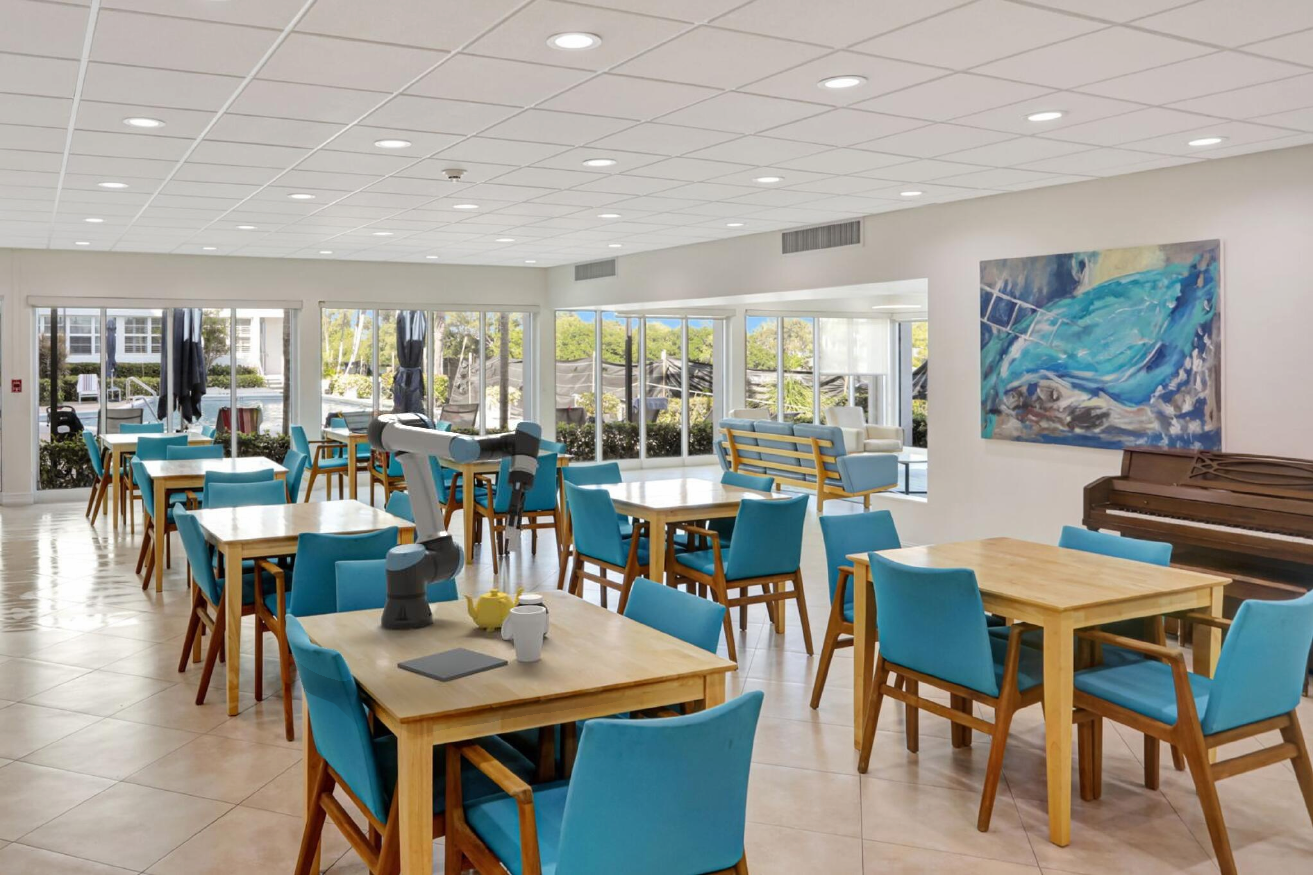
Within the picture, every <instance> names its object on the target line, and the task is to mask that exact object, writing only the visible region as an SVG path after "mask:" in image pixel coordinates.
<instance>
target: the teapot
mask: <svg viewBox="0 0 1313 875" xmlns="http://www.w3.org/2000/svg"><path fill="white" fill-rule="evenodd" d="M525 588H526V586H523V587H520V588H518V589H517V591H516V593H515V599H514V601H513V600H512V598H511V597H510V596H509V595H508V593H506V592H499V591H500V590H499V589H498V588H492V589H490V590H489V592H488V593H487V592H486V593H483V594H482V595H480V597H479V598H478V600H477V601H476V603H475V605H474V602H473V599H472V598H473V597H471V596H470V595H466V594H462V596H463V597H465V599H466V601H467V613H468V615H469V617H471V618H472V620H473V622H474V623H475V624H476V625H477V626H478V629H486V631H485V632H486V633H493V632H494V631H495V628H502V624H503V621H504V620H505V618H506V617H507V616H510V609H512V608H515V607H516V606H517V605H518V604H519V602H518V597H519V596H522V592H523V591H524V590H525Z"/></svg>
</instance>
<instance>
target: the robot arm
mask: <svg viewBox="0 0 1313 875" xmlns="http://www.w3.org/2000/svg"><path fill="white" fill-rule="evenodd" d="M542 432H543V429H542V426H541V425H540V424H539V423H537V422H536V421H531V420H523V421H522V420H521V421H519V422H518V423H517V424H516V427H515V430H514V431H509V432H504V433H503V432H502V433H492V434H490V433H489V434H482V435H480V434H479V435H470V434H469V435H468V434H464V433H463V434H462V433H456V432H450V431H443V430H436V429H435V426H434V424H433V422H432V421H431V419H429V417H427V416H426V415H424V414H422V413H419V412H406V413H405V412H404V413H385V414H381V415H378V416H376V417H374V418H373V419H372V420H371V421H370V422H369V424H368V426H367V428H366V439H367V443H369V445H370V446H371V447H372V448H373V449H375V450H377V451H378V452H387V453H393V456H394V460H395V461H396V462H399V463H400V464H401V469H402V474H403V477H404V481H405V486H406V490H407V494H408V500H409V504H410V507H411V512H412V516H413V520H414V525H415V529H416V534H417V539H416V541H414V543H407V544H401V545H397V546H393V547H392V548H391V549H389V550H388V551H387V552H386V555H385V563H384V566H385V585H386V586H385V589H386V590H385V591H386V601H385V604H384V606H383V611H382V615H381V619H380V622H381V623H380V626H381V625H382V626H383V628H384V627H385V629H388V628H392V629H391V630H411V629H410V628H414V629H421V628H424V626H425V627H427V626H431V625H432V624H433V623H432V622H433V621H434V620H433V612H432V610H431V608H430V604H429V602H428V599H427V586H428V585H432V584H436V583H441V582H446V581H450V580H451V579H455V578H456V577H457V576H459V575H460V573H461V572H462V570H463V568H464V565H465V559H466V558H465V552H464V549H463V547H462V546H461V545H460V544H459V543H458V542H456V541H454V539H453V535H452V533H450V532H449V531H447V530H446V528H445V523H444V519H443V514H442V511H441V505H440V502H439V497H438V493H437V488H436V485H435V480H434V476H433V472H432V468H431V464H430V459H429V456H431V457H432V456H433V457H439V458H445V459H450V460H454V461H455V462H456V463H458V464H471V463H475V462H485V461H487V462H488V461H500V460H505V459H510V464H509V469H508V471H509V472H508V476H507V483H506V484H507V486H508V487H509V488H512V490H511V492H510V499H509V504H508V507H507V509H506V510H505V515H507V518H506V524H505V525H506V526H505V532H504V537H503V538H504V539H508V543H507V552H512V553H517V552H518V548H519V547H518V546H519V542H520V534H521V532H523V531H524V528H523V527H522V523H523V515H524V514H523V513H524V508H525V503H526V499H527V495H526V494H527V493H526V492H525V491H531V490H532V489H533V488H534V486H535V478H536V477H535V475H536V473H537V472H536V471H537V468H539V466H540V465H539V464H538V458H539V454H540V453H539V452H540V447H541V442H542ZM382 626H381V627H382Z"/></svg>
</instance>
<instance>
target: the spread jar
mask: <svg viewBox="0 0 1313 875" xmlns="http://www.w3.org/2000/svg"><path fill="white" fill-rule="evenodd" d="M518 602H519V604H518V605H517V606H516V607H520V606H541V607H544V608H546V619H545V624H544V633H543V638H544V637H545V636H546V635H547V634H548V632H549V630H550V613H549V610H548V608H547V606H546V605H545V603H544V602H543V595H541V594H533V593H532V594H523V595H522V594H521V596H519V597H518ZM500 628H501V630H500V633H501V634H500V636H501V637H502V639H503V640H504V641H511V640H514V639H513V632H512V625H511V620H510V616H507V617H506V618H505V620H504V621H503V624H502V627H500Z"/></svg>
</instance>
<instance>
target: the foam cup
mask: <svg viewBox="0 0 1313 875" xmlns="http://www.w3.org/2000/svg"><path fill="white" fill-rule="evenodd" d="M545 619H546V608H544V607H541V606H520V607H515V608H512V609H510V620H511V625H512V632H513V639H512V640H513V644H514V650H515V651H514V652H515V658H516V660H517V661H519V662H529V663H530V662H535V661H539V660H541V657H542V649H543V641H544V637H543V633H544V624H545Z"/></svg>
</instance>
